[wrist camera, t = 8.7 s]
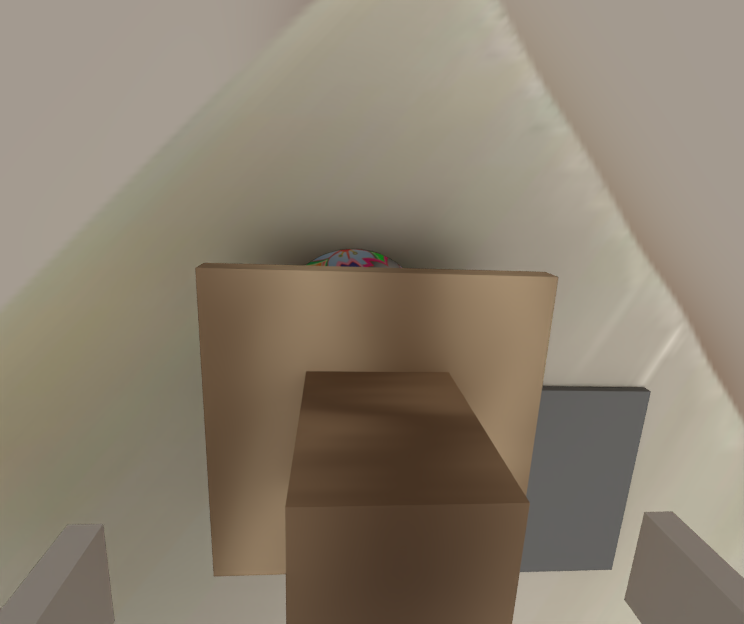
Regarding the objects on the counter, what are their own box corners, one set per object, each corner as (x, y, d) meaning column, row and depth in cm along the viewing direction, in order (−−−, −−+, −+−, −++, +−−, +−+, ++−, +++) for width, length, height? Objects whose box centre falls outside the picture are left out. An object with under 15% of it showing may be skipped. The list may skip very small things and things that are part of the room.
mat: (419, 567, 33) (421, 574, 32) (435, 385, 29) (438, 389, 28) (606, 563, 34) (611, 569, 33) (644, 387, 30) (650, 391, 30)
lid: (220, 556, 19) (139, 815, 11) (203, 262, 16) (76, 336, 8) (507, 548, 20) (617, 780, 12) (545, 271, 17) (728, 344, 9)
